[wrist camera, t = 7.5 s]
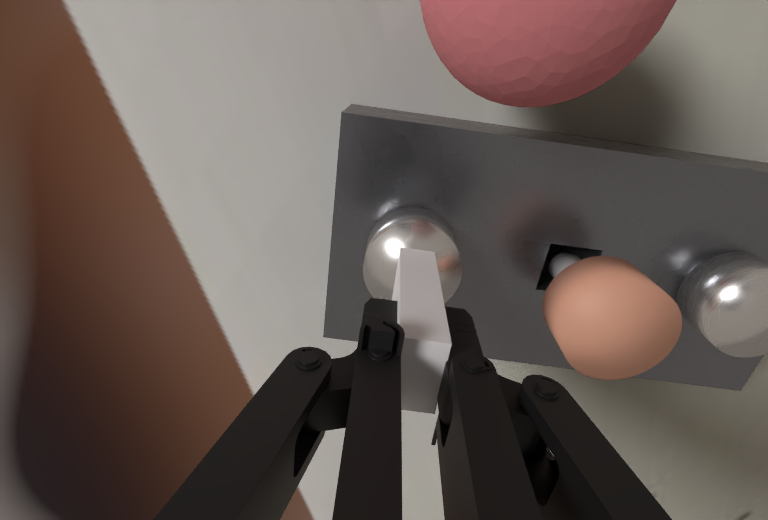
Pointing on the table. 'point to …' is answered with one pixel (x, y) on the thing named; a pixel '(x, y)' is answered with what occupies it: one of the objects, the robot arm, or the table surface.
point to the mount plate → (542, 223)
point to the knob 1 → (414, 233)
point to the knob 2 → (609, 316)
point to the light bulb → (539, 44)
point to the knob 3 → (729, 303)
